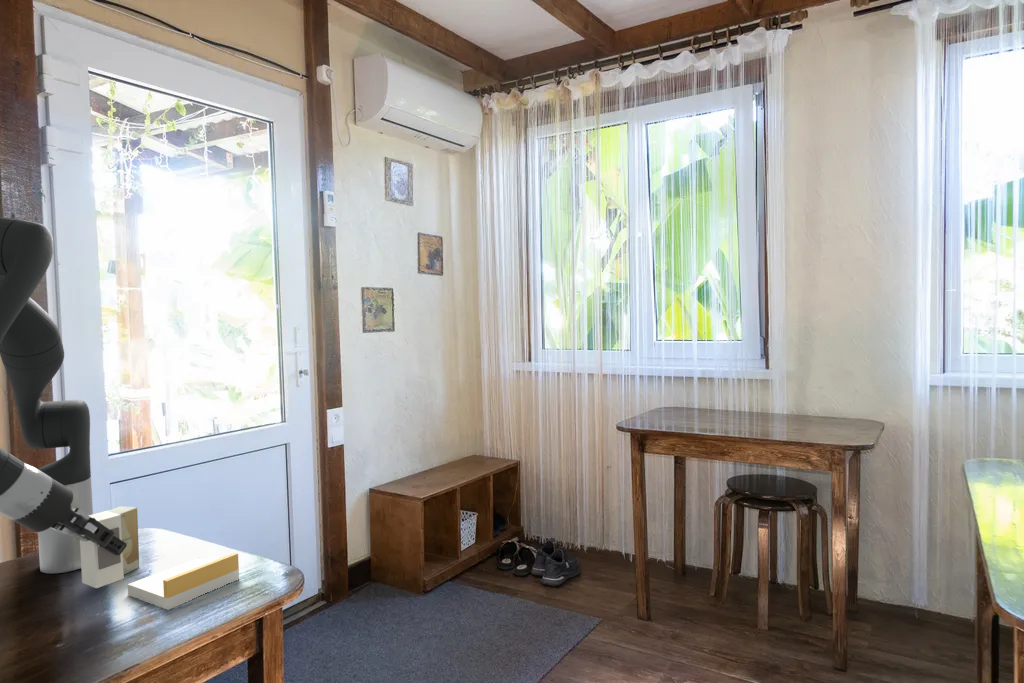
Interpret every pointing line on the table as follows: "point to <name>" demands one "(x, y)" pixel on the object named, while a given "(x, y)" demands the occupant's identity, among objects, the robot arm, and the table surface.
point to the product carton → (102, 555)
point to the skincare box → (129, 536)
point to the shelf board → (185, 581)
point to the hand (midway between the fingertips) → (113, 546)
